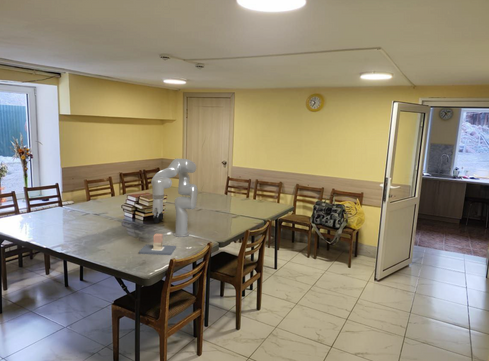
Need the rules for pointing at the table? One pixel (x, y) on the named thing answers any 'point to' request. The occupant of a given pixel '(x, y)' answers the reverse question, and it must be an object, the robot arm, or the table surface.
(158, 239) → the terracotta cube
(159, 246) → the maple cube
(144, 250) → the slate baseplate
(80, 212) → the table surface
